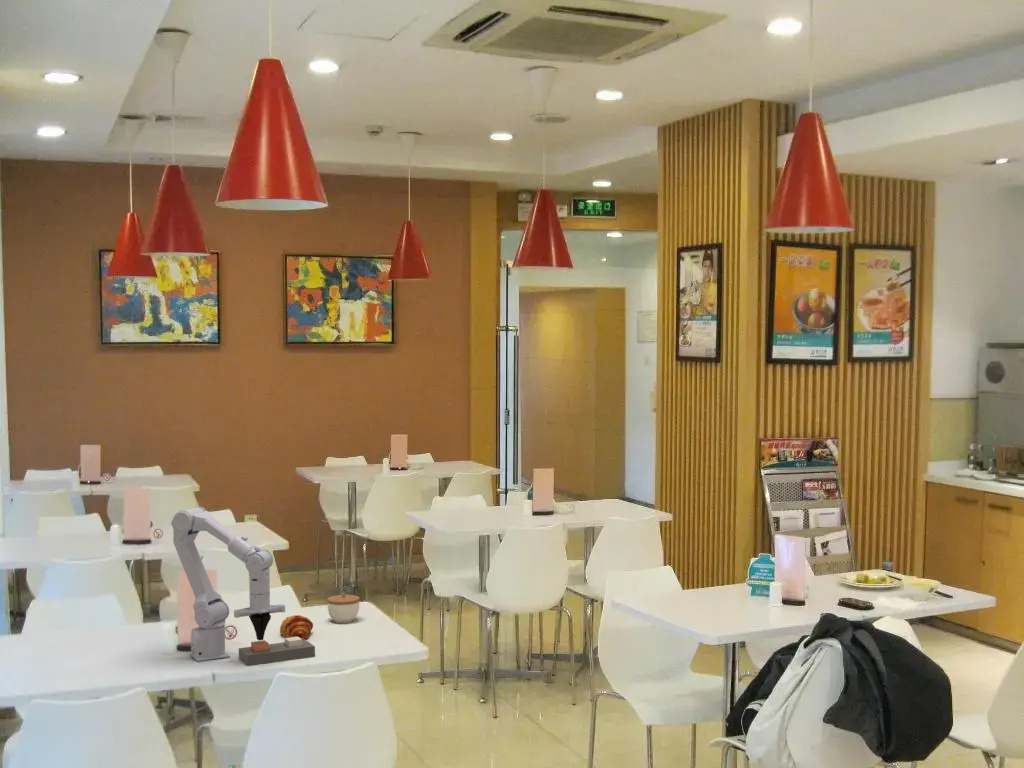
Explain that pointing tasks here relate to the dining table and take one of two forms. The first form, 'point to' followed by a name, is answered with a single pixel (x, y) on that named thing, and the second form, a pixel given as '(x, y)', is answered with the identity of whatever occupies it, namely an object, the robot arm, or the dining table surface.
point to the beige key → (293, 642)
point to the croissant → (296, 627)
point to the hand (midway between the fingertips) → (260, 639)
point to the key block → (276, 653)
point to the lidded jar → (343, 607)
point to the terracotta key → (259, 646)
